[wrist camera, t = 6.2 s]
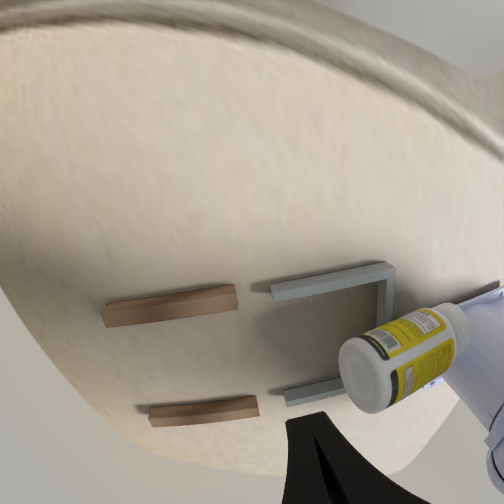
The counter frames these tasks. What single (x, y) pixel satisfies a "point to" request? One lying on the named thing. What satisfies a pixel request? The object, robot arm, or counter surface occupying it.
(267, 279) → the counter surface
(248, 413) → the rails
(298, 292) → the bay
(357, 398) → the supplement bottle
